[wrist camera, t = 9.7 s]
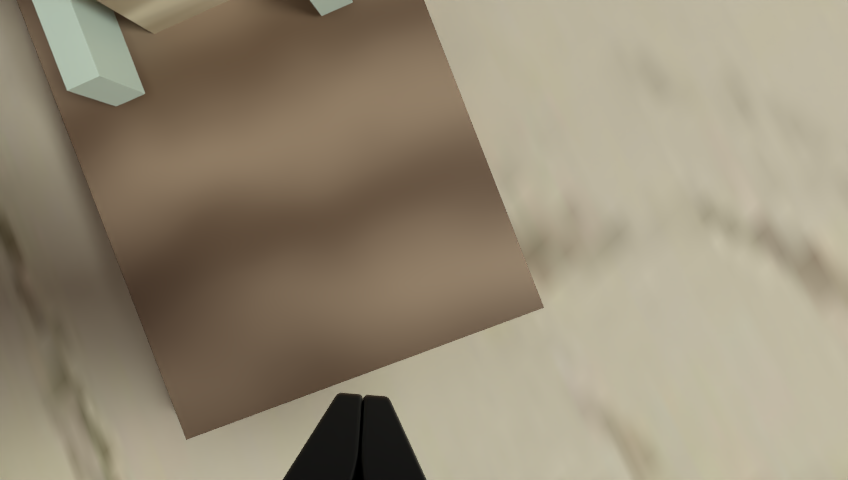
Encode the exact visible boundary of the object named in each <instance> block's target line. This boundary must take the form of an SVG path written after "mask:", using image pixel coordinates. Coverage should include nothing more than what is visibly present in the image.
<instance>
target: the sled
mask: <svg viewBox="0 0 848 480" xmlns="http://www.w3.org/2000/svg"><path fill="white" fill-rule="evenodd" d="M32 1H33V4H34V7H35V9H36V12H37V14H38V17H39V19H40V22H41V25H42V27H43V30H44V32H45V35H46V38H47V40H48V43H49V45H50V48H51V50H52V53H53V56H54V58H55V61H56V63H57V66H58V69H59V71H60V74H61V76H62V79H63V82H64V84H65V87H66V89H67V91H70V92H73V93H76V94H79V95H82V96H85V97H88V98H91V99H95V100H98V101H101V102H104V103H107V104H110V105H113V106H119V105H121V104H123V103H126V102H128V101H130V100H132V99H135V98H137V97H139V96H141V95H144V94H145V91H144V89H143V86H142V84H141V81H140V78H139V76H138V73H137V71H136V68H135V66H134V63H133V60H132V58H131V55H130V53H129V50H128V47H127V45H126V42H125V40H124V37H123V35H122V32H121V29H120V27H119V24H118V22H117V19H116V16H115V14H114V11H113V10H112V9H110V8H109V7H107V6H105V5H103V4H102V3H100V2H98V1H97V0H32ZM310 1H311V3H312V4H313V5H314V7H315V8H316V9H317V11H318V12H319V13H320V15H321V16H323V15H325V14H328V13H330V12H332V11H335V10H337V9H339V8H341V7H344V6H346V5H348V4H350V3H353V1H352V0H310Z"/></svg>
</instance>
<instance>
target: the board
mask: <svg viewBox="0 0 848 480" xmlns="http://www.w3.org/2000/svg"><path fill="white" fill-rule="evenodd" d="M352 1H353V3H350V4H348V5H346V6H344V7H341V8H339V9H337V10H335V11H332V12H330V13H328V14H325V15H323V16H321V15H320V13H319V12H318V11H317V9H316V8H315V7H314V5H313V4H312V3H311V1H310V0H229V1H227V2H224V3H222V4H220V5H218V6H215V7H213V8H211V9H209V10H207V11H204V12H202V13H200V14H198V15H196V16H193V17H191V18H189V19H187V20H184V21H182V22H180V23H178V24H176V25H173V26H171V27H169V28H167V29H164V30H162V31H160V32H158V33H156V34H153V33H152V32H150V31H148V30H146V29H145V28H143V27H141V26H140V25H138V24H136V23H134V22H133V21H131V20H129V19H128V18H126V17H124V16H122V15H121V14H119V13H117V12H115V11H114V10H113V11H114V14H115V16H116V19H117V22H118V24H119V27H120V29H121V32H122V35H123V37H124V40H125V42H126V45H127V47H128V50H129V53H130V55H131V58H132V60H133V63H134V66H135V68H136V71H137V73H138V76H139V78H140V81H141V84H142V86H143V89H144V91H145V94H144V95H141V96H139V97H137V98H135V99H132V100H130V101H128V102H126V103H123V104H121V105H119V106H113V105H110V104H107V103H104V102H101V101H98V100H95V99H91V98H88V97H85V96H82V95H79V94H76V93H73V92H70V91H67V89H66V87H65V84H64V82H63V79H62V76H61V74H60V71H59V69H58V66H57V63H56V61H55V58H54V56H53V53H52V50H51V48H50V45H49V43H48V40H47V38H46V35H45V32H44V30H43V27H42V25H41V22H40V19H39V17H38V14H37V12H36V9H35V7H34V4H33V1H32V0H17V2H18V5H19V8H20V10H21V13H22V15H23V18H24V20H25V23H26V26H27V28H28V31H29V33H30V36H31V39H32V41H33V44H34V46H35V49H36V52H37V54H38V57H39V59H40V62H41V64H42V67H43V70H44V72H45V75H46V77H47V80H48V83H49V85H50V88H51V90H52V93H53V96H54V98H55V101H56V103H57V106H58V108H59V111H60V114H61V116H62V119H63V121H64V124H65V127H66V129H67V132H68V134H69V137H70V140H71V142H72V145H73V147H74V150H75V152H76V155H77V158H78V160H79V163H80V165H81V168H82V171H83V173H84V176H85V178H86V181H87V184H88V186H89V189H90V191H91V194H92V196H93V199H94V202H95V204H96V207H97V209H98V212H99V215H100V217H101V220H102V222H103V225H104V228H105V230H106V233H107V235H108V238H109V240H110V243H111V246H112V248H113V251H114V253H115V256H116V259H117V261H118V264H119V266H120V269H121V272H122V274H123V277H124V279H125V282H126V285H127V287H128V290H129V292H130V295H131V297H132V300H133V303H134V305H135V308H136V310H137V313H138V316H139V318H140V321H141V323H142V326H143V329H144V331H145V334H146V336H147V339H148V341H149V344H150V347H151V349H152V352H153V354H154V357H155V360H156V362H157V365H158V367H159V370H160V373H161V375H162V378H163V380H164V383H165V385H166V388H167V391H168V393H169V396H170V398H171V401H172V404H173V406H174V409H175V411H176V414H177V417H178V419H179V422H180V424H181V427H182V429H183V432H184V435H185V437H186V440H187V439H189V438H192V437H195V436H197V435H200V434H203V433H206V432H208V431H211V430H214V429H216V428H219V427H222V426H224V425H227V424H230V423H233V422H235V421H238V420H241V419H243V418H246V417H249V416H252V415H254V414H257V413H260V412H262V411H265V410H268V409H270V408H273V407H276V406H279V405H281V404H284V403H287V402H289V401H292V400H295V399H298V398H300V397H303V396H306V395H308V394H311V393H314V392H317V391H319V390H322V389H325V388H327V387H330V386H333V385H335V384H338V383H341V382H344V381H346V380H349V379H352V378H354V377H357V376H360V375H363V374H365V373H368V372H371V371H373V370H376V369H379V368H381V367H384V366H387V365H390V364H392V363H395V362H398V361H400V360H403V359H406V358H409V357H411V356H414V355H417V354H419V353H422V352H425V351H428V350H430V349H433V348H436V347H438V346H441V345H444V344H446V343H449V342H452V341H455V340H457V339H460V338H463V337H465V336H468V335H471V334H474V333H476V332H479V331H482V330H484V329H487V328H490V327H492V326H495V325H498V324H501V323H503V322H506V321H509V320H511V319H514V318H517V317H520V316H522V315H525V314H528V313H530V312H533V311H536V310H539V309H541V308H544V307H543V304H542V302H541V299H540V297H539V294H538V291H537V289H536V286H535V284H534V281H533V279H532V276H531V273H530V271H529V268H528V266H527V263H526V261H525V258H524V256H523V253H522V250H521V248H520V245H519V243H518V240H517V238H516V235H515V233H514V230H513V227H512V225H511V222H510V220H509V217H508V215H507V212H506V209H505V207H504V204H503V202H502V199H501V197H500V194H499V192H498V189H497V186H496V184H495V181H494V179H493V176H492V174H491V171H490V168H489V166H488V163H487V161H486V158H485V156H484V153H483V151H482V148H481V145H480V143H479V140H478V138H477V135H476V133H475V130H474V128H473V125H472V122H471V120H470V117H469V115H468V112H467V110H466V107H465V104H464V102H463V99H462V97H461V94H460V92H459V89H458V87H457V84H456V81H455V79H454V76H453V74H452V71H451V69H450V66H449V63H448V61H447V58H446V56H445V53H444V51H443V48H442V46H441V43H440V40H439V38H438V35H437V33H436V30H435V28H434V25H433V23H432V20H431V17H430V15H429V12H428V10H427V7H426V5H425V2H424V0H352Z"/></svg>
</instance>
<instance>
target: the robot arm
mask: <svg viewBox="0 0 848 480" xmlns="http://www.w3.org/2000/svg"><path fill="white" fill-rule="evenodd" d="M283 480H426V478H425V475H424V473H423V471H422V469H421V467H420V465H419V462H418V460H417V458H416V456H415V454H414V451H413V449H412V447H411V445H410V443H409V440H408V438H407V436H406V434H405V432H404V429H403V427H402V425H401V423H400V421H399V419H398V416H397V414H396V412H395V410H394V408H393V405H392V403H391V401H390V400H389V398H387V397H385V396H374V395H366V396H365V397H364V398H362V396H361V395H359V394H349V393H339V394H338V395H337V396H336V397H335V398H334V400H333V401H332V403H331V404H330V406H329V408H328V409H327V411H326V412H325V414H324V416H323V417H322V419H321V420H320V422H319V423H318V425H317V427H316V428H315V430H314V431H313V433H312V434H311V436H310V438H309V439H308V441H307V442H306V444H305V445H304V447H303V449H302V450H301V452H300V453H299V455H298V456H297V458H296V460H295V461H294V463H293V464H292V466H291V468H290V469H289V471H288V472H287V474H286V475H285V477H284V479H283Z"/></svg>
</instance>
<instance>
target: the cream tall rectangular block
mask: <svg viewBox="0 0 848 480" xmlns="http://www.w3.org/2000/svg"><path fill="white" fill-rule="evenodd" d="M97 1H98V2H100V3H102V4H103V5H105V6H107V7H109V8H110V9H112V10H114V11H115V12H117V13H119V14H121V15H122V16H124V17H126V18H128V19H129V20H131V21H133V22H134V23H136V24H138V25H140V26H141V27H143V28H145V29H146V30H148V31H150V32H152V33H153V34H156V33H158V32H160V31H162V30H164V29H167V28H169V27H171V26H173V25H176V24H178V23H180V22H182V21H184V20H187V19H189V18H191V17H193V16H196V15H198V14H200V13H202V12H204V11H207V10H209V9H211V8H213V7H215V6H218V5H220V4H222V3H224V2H227V1H229V0H97Z"/></svg>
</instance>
